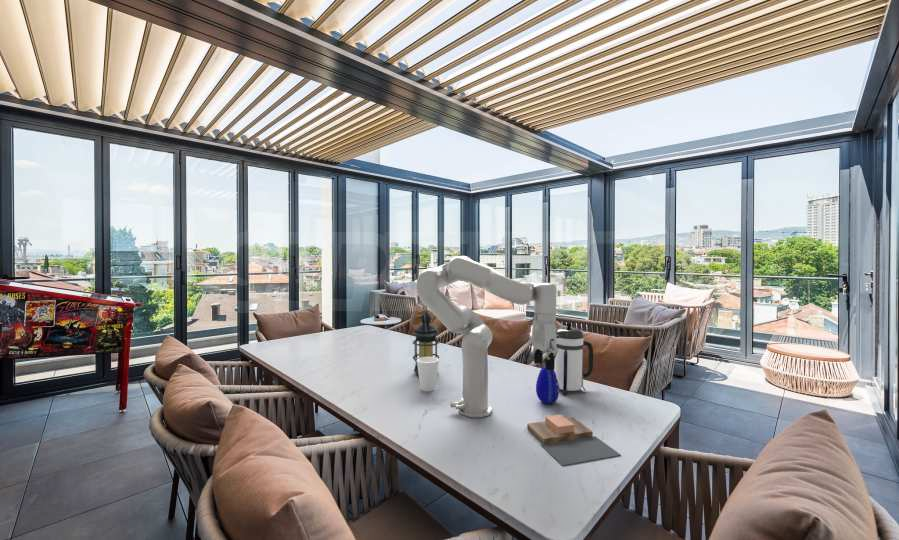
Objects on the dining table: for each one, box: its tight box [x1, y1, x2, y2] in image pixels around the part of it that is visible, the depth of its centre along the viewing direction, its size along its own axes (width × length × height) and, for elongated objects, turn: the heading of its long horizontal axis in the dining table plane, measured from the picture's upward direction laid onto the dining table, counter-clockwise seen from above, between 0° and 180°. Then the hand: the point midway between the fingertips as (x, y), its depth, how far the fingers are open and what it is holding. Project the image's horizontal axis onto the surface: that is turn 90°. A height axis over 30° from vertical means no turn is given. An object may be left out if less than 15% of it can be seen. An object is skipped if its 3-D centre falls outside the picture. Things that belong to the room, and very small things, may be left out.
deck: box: [526, 417, 594, 445], centre depth 130 cm, size 18×11×2 cm, turn 106°
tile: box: [544, 414, 574, 434], centre depth 130 cm, size 6×8×2 cm
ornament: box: [535, 365, 561, 405], centre depth 156 cm, size 11×9×15 cm
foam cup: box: [417, 356, 440, 392], centre depth 170 cm, size 10×9×13 cm
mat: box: [540, 435, 621, 467], centre depth 119 cm, size 20×12×1 cm, turn 106°
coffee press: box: [554, 321, 594, 396], centre depth 170 cm, size 17×16×30 cm
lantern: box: [412, 302, 440, 375], centre depth 191 cm, size 14×13×35 cm
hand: (544, 366), depth 139 cm, fingers open, 7 cm apart
